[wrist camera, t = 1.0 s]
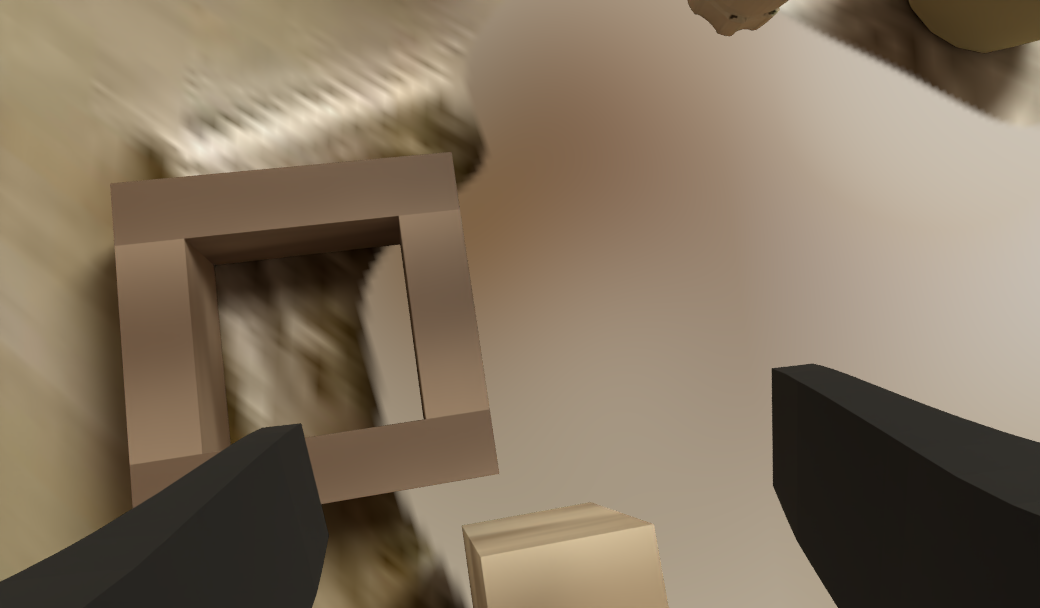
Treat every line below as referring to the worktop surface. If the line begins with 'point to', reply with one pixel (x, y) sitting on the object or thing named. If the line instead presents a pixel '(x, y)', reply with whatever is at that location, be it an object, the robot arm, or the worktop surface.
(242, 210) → the brown square frame
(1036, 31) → the squeeze bottle
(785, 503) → the robot arm
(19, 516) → the worktop surface
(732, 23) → the handle
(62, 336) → the worktop surface
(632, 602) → the oak block
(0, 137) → the worktop surface
